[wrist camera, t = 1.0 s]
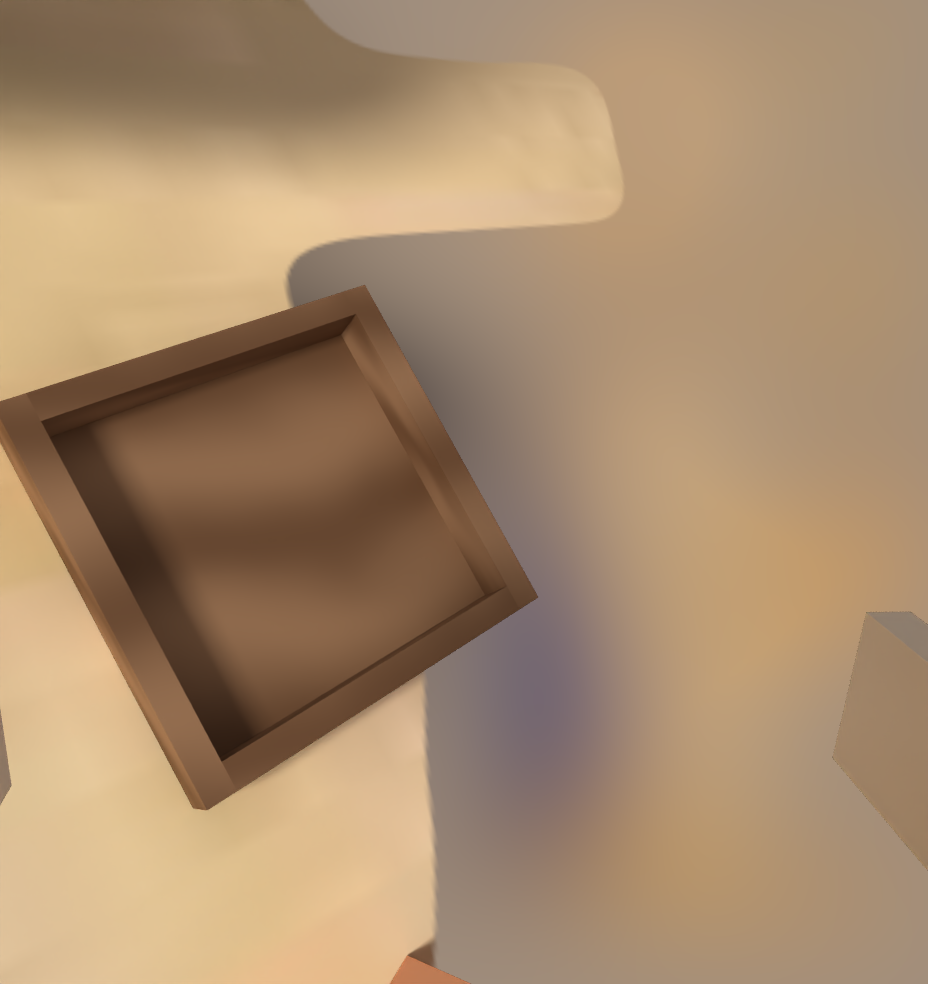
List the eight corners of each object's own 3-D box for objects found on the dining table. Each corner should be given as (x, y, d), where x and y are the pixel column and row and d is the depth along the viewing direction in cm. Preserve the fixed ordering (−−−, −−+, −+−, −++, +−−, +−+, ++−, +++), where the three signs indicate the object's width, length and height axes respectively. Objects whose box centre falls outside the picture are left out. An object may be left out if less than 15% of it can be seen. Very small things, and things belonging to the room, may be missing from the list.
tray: (-6, 431, 28) (-8, 404, 26) (344, 313, 36) (364, 284, 33) (193, 808, 27) (207, 810, 25) (508, 608, 35) (538, 597, 33)
